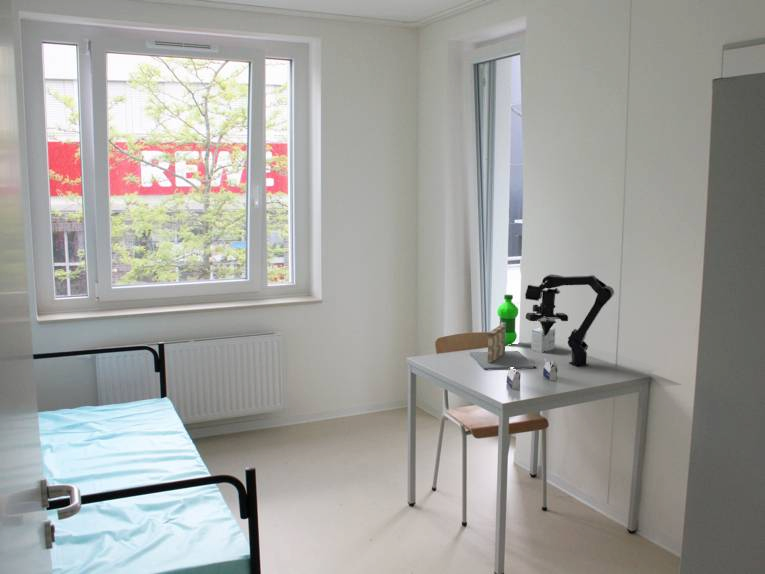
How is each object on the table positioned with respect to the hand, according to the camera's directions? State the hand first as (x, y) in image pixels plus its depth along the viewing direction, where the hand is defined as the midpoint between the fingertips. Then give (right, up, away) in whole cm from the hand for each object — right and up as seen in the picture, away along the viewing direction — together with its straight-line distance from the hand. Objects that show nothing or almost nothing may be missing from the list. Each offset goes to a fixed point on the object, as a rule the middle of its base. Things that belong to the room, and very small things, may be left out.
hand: (545, 335), depth 316 cm
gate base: (-20, -12, 0) cm, 24 cm away
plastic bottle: (-12, -7, +32) cm, 35 cm away
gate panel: (-23, -11, 0) cm, 25 cm away
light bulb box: (+4, -9, +21) cm, 23 cm away
